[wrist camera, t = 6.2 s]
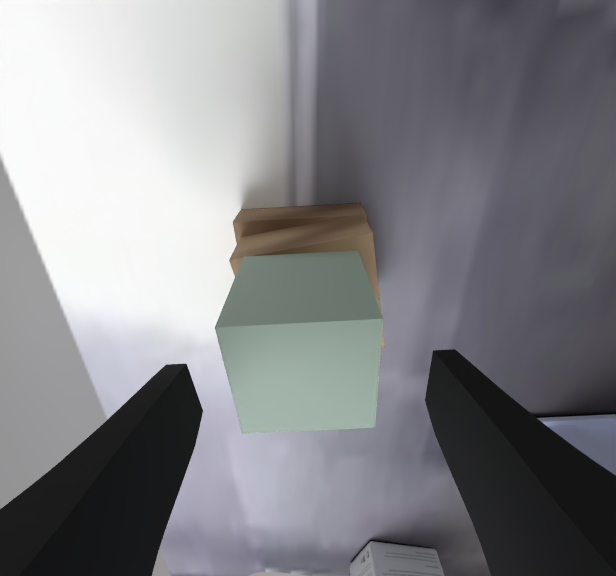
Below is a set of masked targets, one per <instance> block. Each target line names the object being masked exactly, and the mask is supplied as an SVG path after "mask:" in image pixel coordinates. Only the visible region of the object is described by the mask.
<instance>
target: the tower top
mask: <svg viewBox="0 0 616 576" xmlns="http://www.w3.org/2000/svg"><path fill="white" fill-rule="evenodd" d="M354 250H358V252H359V255H360V258H361V260H362V263H363V266H364V268H365V271H366V274H367V276H368V279H369V282H370V284H371V287H372V290H373V292H374V295H375V298H376V300H377V303H378V306H379V308H380V298H379V288H378V278H377V269H376V259H375V249H374V239H373V232H372V230H371V229H370V227H369V225H368V223H367V221H366V219H365V217H364V215H363V213H362V214H357V215H352V216H347V217H341V218H336V219H331V220H326V221H321V222H316V223H311V224H306V225H301V226H296V227H290V228H285V229H280V230H275V231H270V232H265V233H260V234H255V235H250V236H244V237H241V238H240V240H239V242H238V244H237V246H236V248H235V250H234V252H233V254H232V256H231V258H230V260H229V261H230V264H231V267H232V269H233V272H234V275H235V277H236V275H237V272H238V270H239V267H240V265H241V262H242V260H243V257H246V256H263V255H281V254H299V253H317V252H336V251H354ZM380 311H381V308H380ZM381 347H384V337H383V330H382V342H381Z"/></svg>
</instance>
